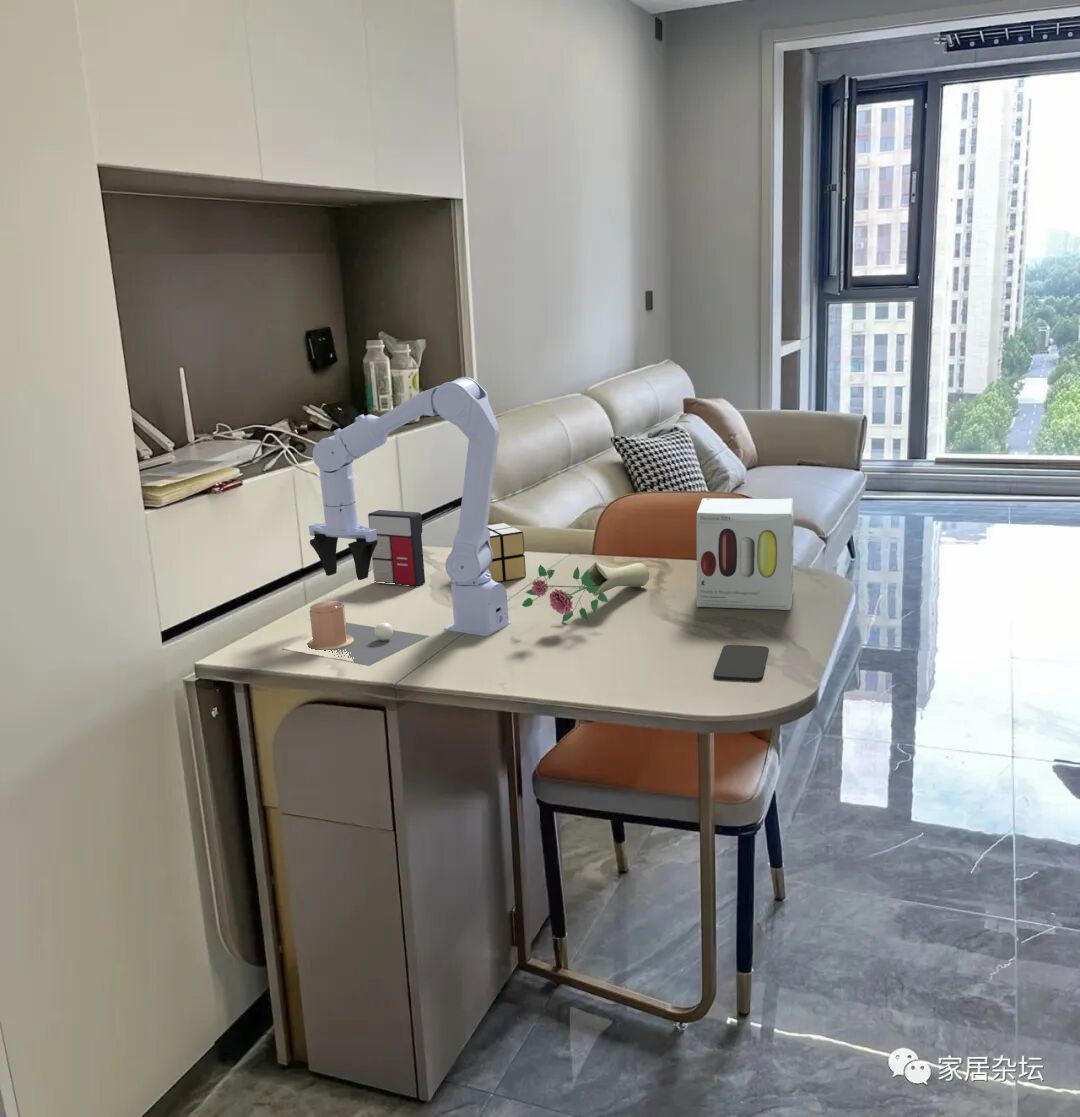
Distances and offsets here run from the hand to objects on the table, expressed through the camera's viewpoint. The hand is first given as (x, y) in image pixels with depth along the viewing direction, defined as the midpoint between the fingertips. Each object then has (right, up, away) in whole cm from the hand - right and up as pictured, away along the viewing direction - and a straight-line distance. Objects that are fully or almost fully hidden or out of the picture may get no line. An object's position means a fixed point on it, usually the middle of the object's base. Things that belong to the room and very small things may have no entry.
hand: (347, 576), depth 196 cm
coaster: (-1, -11, -8) cm, 14 cm away
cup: (-1, -11, -8) cm, 14 cm away
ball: (+8, -9, -9) cm, 15 cm away
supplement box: (+74, -5, +5) cm, 74 cm away
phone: (+67, -14, -27) cm, 73 cm away
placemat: (+3, -12, -8) cm, 15 cm away
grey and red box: (+6, -2, +29) cm, 29 cm away
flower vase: (+46, -7, +3) cm, 46 cm away
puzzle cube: (+26, -1, +30) cm, 40 cm away
